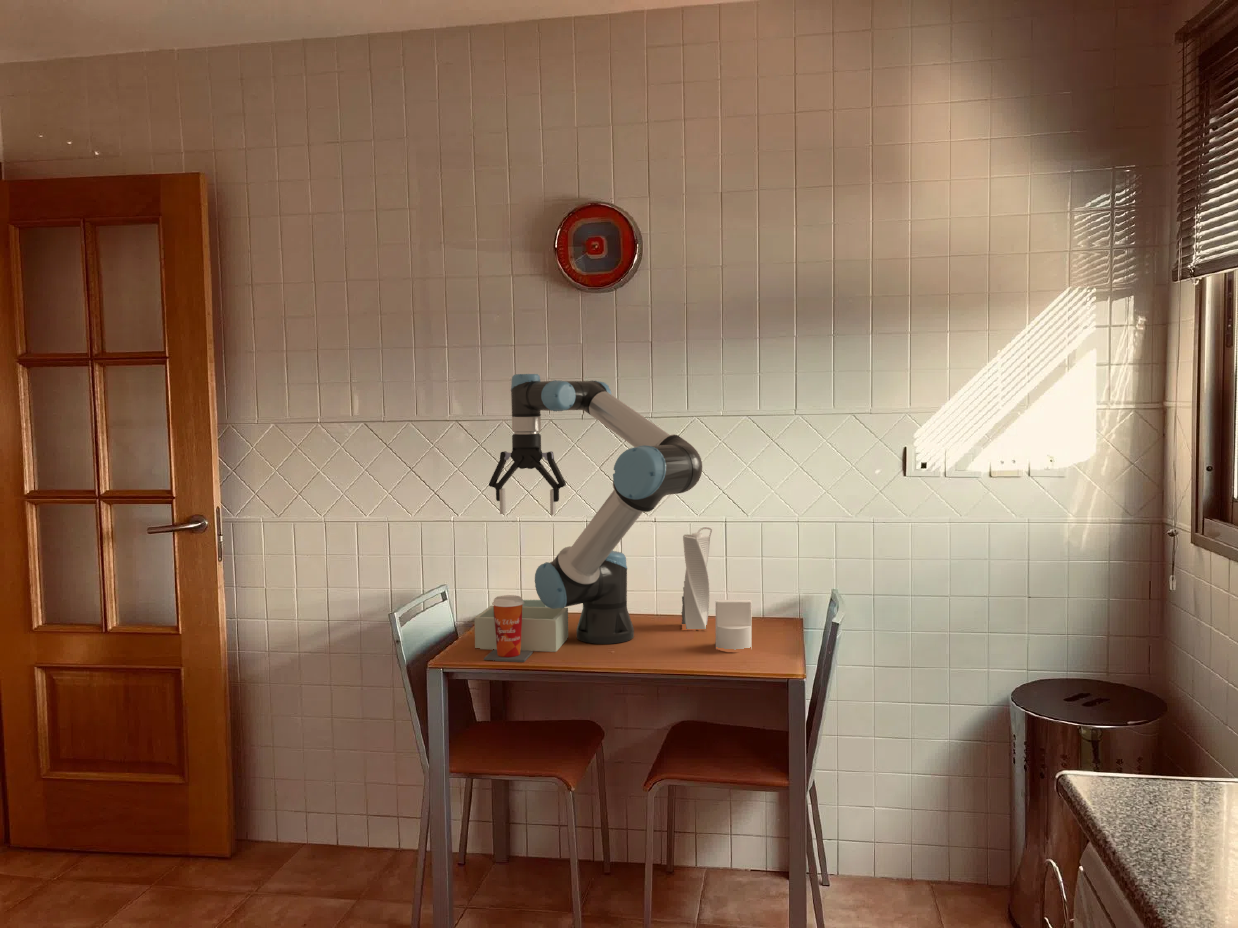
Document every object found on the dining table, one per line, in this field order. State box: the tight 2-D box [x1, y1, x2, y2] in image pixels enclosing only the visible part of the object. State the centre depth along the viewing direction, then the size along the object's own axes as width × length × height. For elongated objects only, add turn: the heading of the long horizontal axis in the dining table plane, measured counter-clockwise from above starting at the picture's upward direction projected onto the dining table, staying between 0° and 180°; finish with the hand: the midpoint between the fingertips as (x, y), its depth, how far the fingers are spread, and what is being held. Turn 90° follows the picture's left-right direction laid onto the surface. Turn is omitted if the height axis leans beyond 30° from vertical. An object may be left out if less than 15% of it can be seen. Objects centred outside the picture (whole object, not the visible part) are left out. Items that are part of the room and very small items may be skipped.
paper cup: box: [491, 594, 524, 657], centre depth 236 cm, size 8×8×14 cm
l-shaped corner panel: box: [522, 599, 547, 607], centre depth 272 cm, size 12×12×8 cm
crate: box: [474, 605, 569, 653], centre depth 249 cm, size 21×14×8 cm, turn 80°
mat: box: [483, 649, 534, 663], centre depth 237 cm, size 10×8×1 cm
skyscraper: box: [681, 526, 713, 629], centre depth 263 cm, size 8×8×28 cm
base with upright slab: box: [715, 599, 753, 650], centre depth 243 cm, size 9×9×12 cm
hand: (527, 514), depth 254 cm, fingers open, 13 cm apart
